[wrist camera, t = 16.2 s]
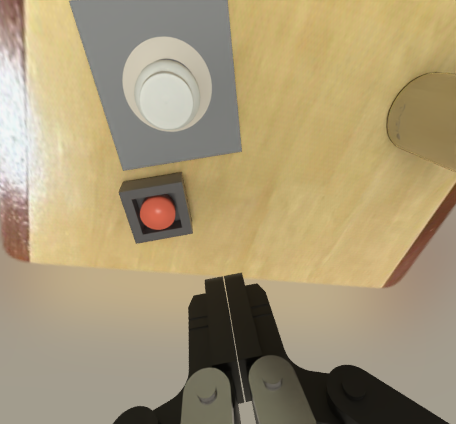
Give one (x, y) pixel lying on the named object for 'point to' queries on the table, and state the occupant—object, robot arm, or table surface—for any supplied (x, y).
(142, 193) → the button housing
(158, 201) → the button
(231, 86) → the grey mat
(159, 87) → the pill bottle
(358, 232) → the table surface
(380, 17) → the table surface
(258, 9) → the table surface
